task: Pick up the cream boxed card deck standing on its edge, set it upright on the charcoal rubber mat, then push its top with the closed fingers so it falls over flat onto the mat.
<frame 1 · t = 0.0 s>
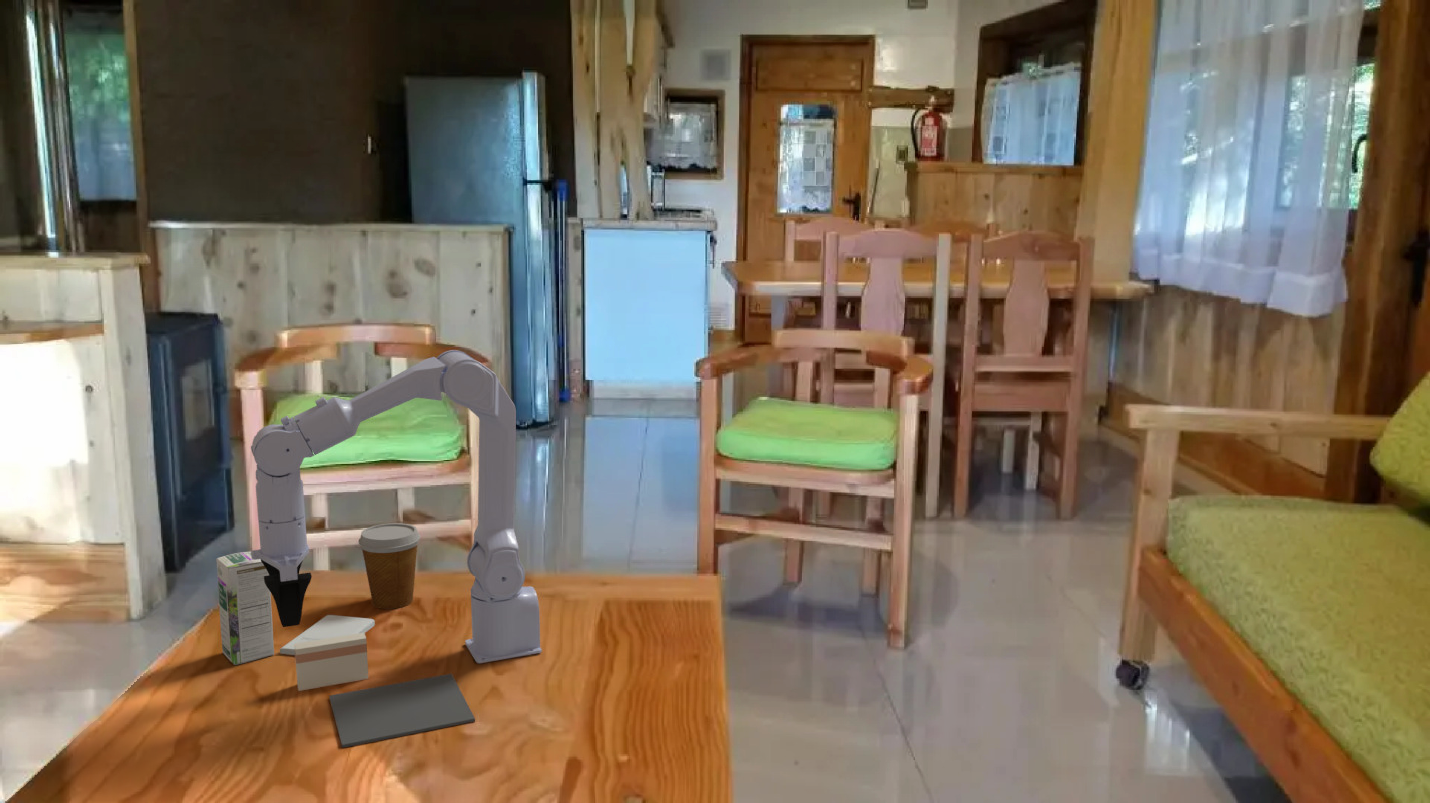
hand: (288, 614, 143), 10 cm above the table, tool pointing down, fingers open, 7 cm apart
disposable coffee cup: (392, 603, 175), on the table
mat: (400, 709, 139), on the table
card deck: (333, 682, 147), on the table
external hard drive: (329, 643, 160), on the table
syrup box: (249, 655, 155), on the table
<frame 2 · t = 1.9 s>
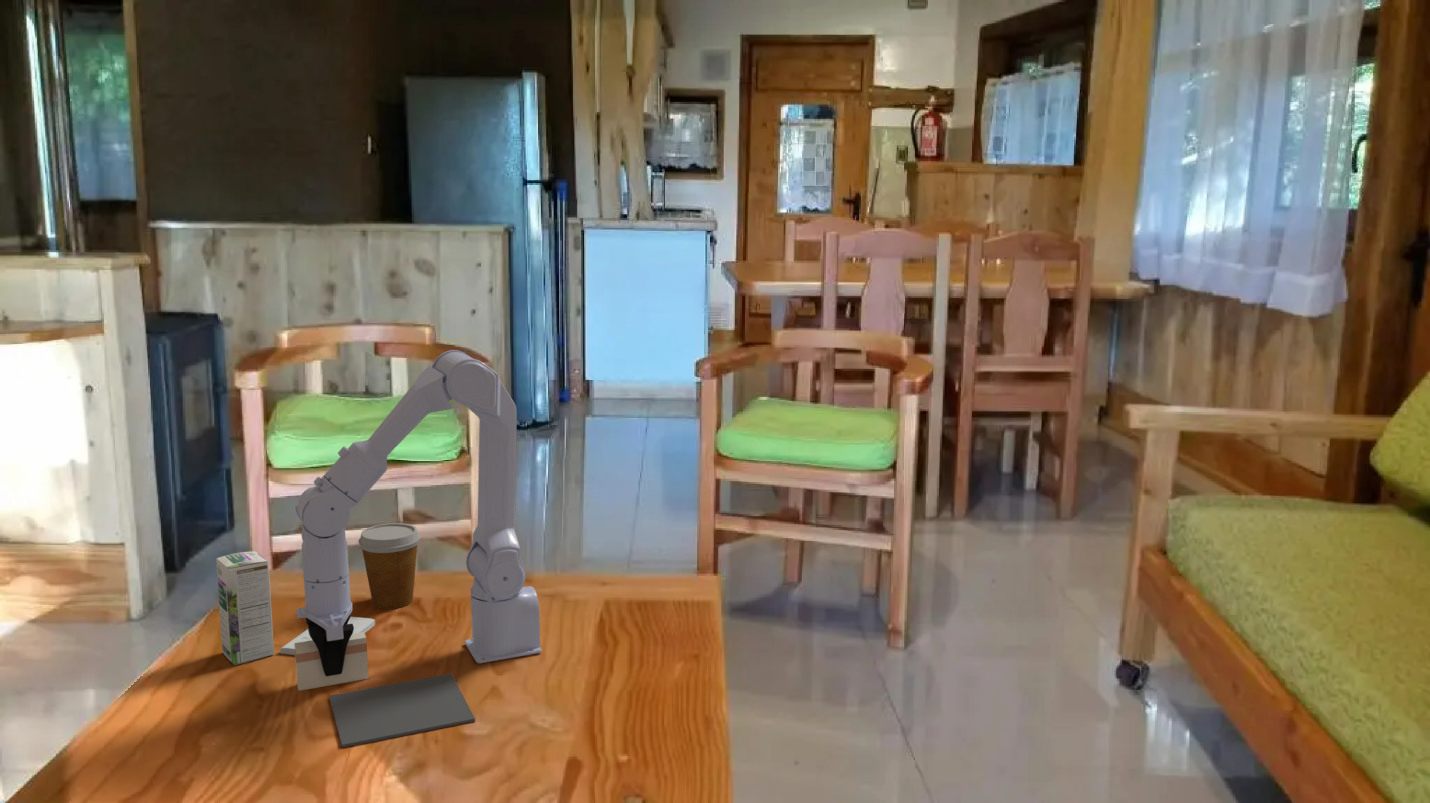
hand: (332, 670, 146), 2 cm above the table, tool pointing down, fingers closed on card deck, 2 cm apart
card deck: (333, 681, 146), on the table, touching gripper
everything else where it was.
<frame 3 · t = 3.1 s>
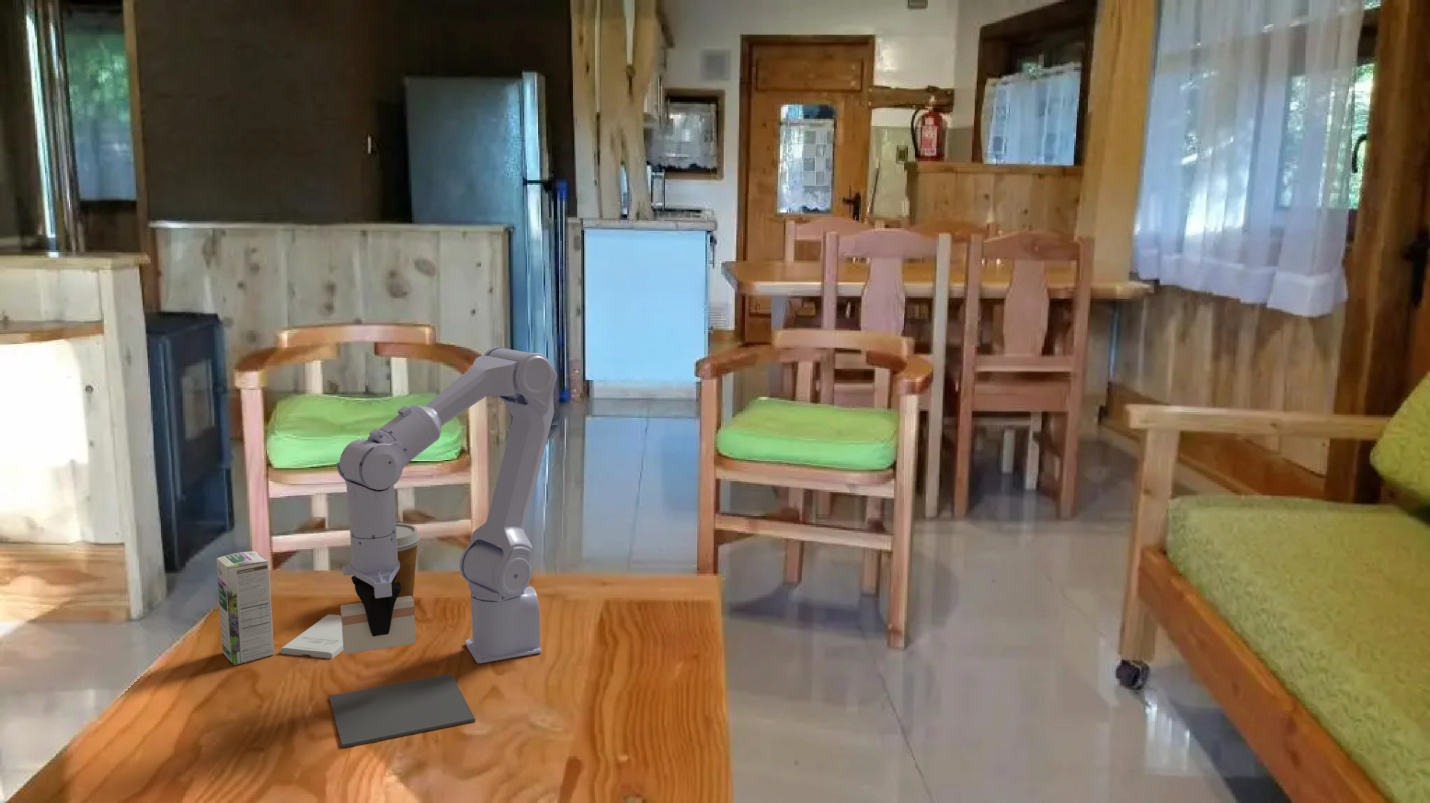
hand: (378, 630, 142), 9 cm above the table, tool pointing down, fingers closed on card deck
card deck: (379, 645, 142), point 7 cm above the table, touching gripper
everything else where it was.
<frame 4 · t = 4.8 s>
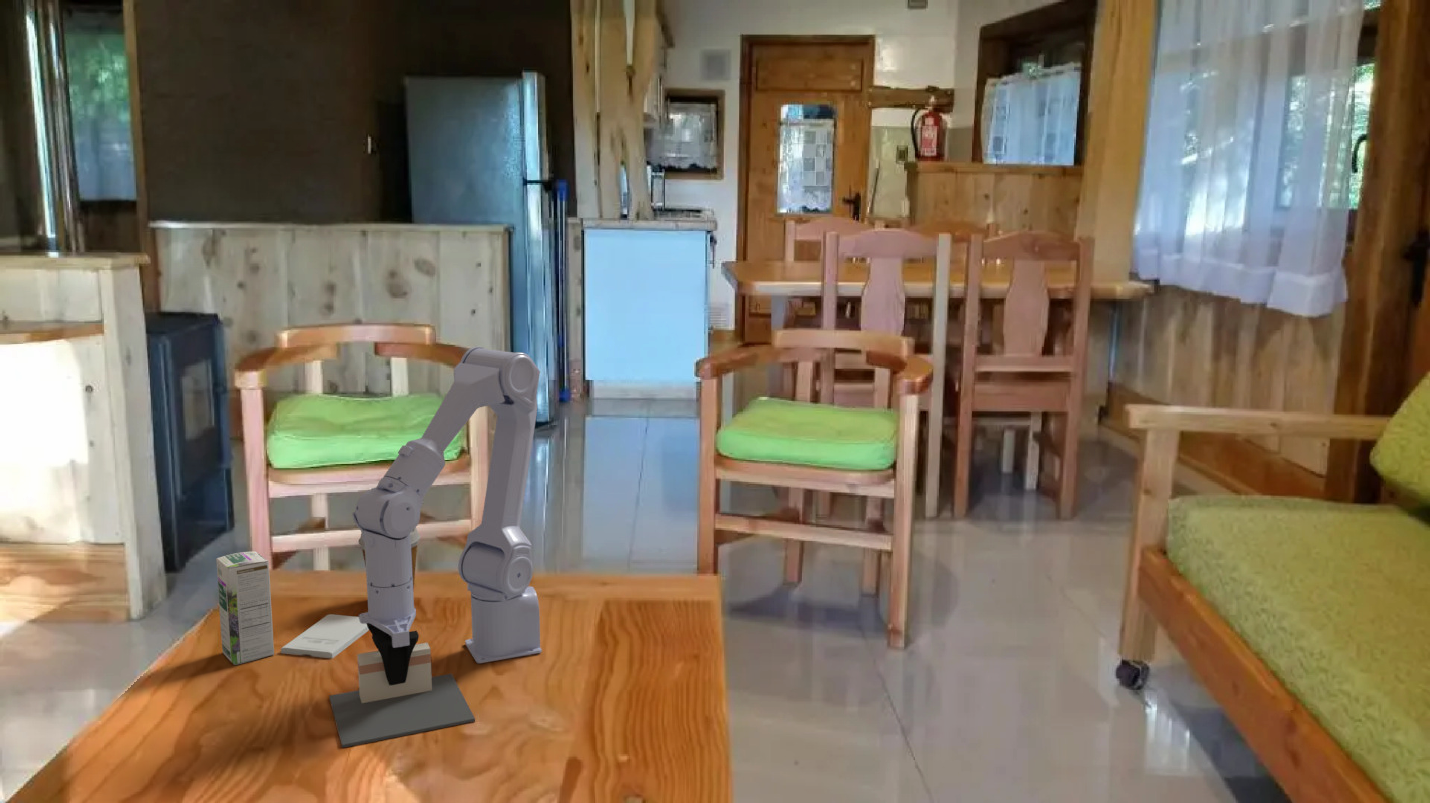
hand: (394, 677, 142), 3 cm above the table, tool pointing down, fingers open, 3 cm apart
card deck: (396, 693, 142), resting on mat
everything else where it was.
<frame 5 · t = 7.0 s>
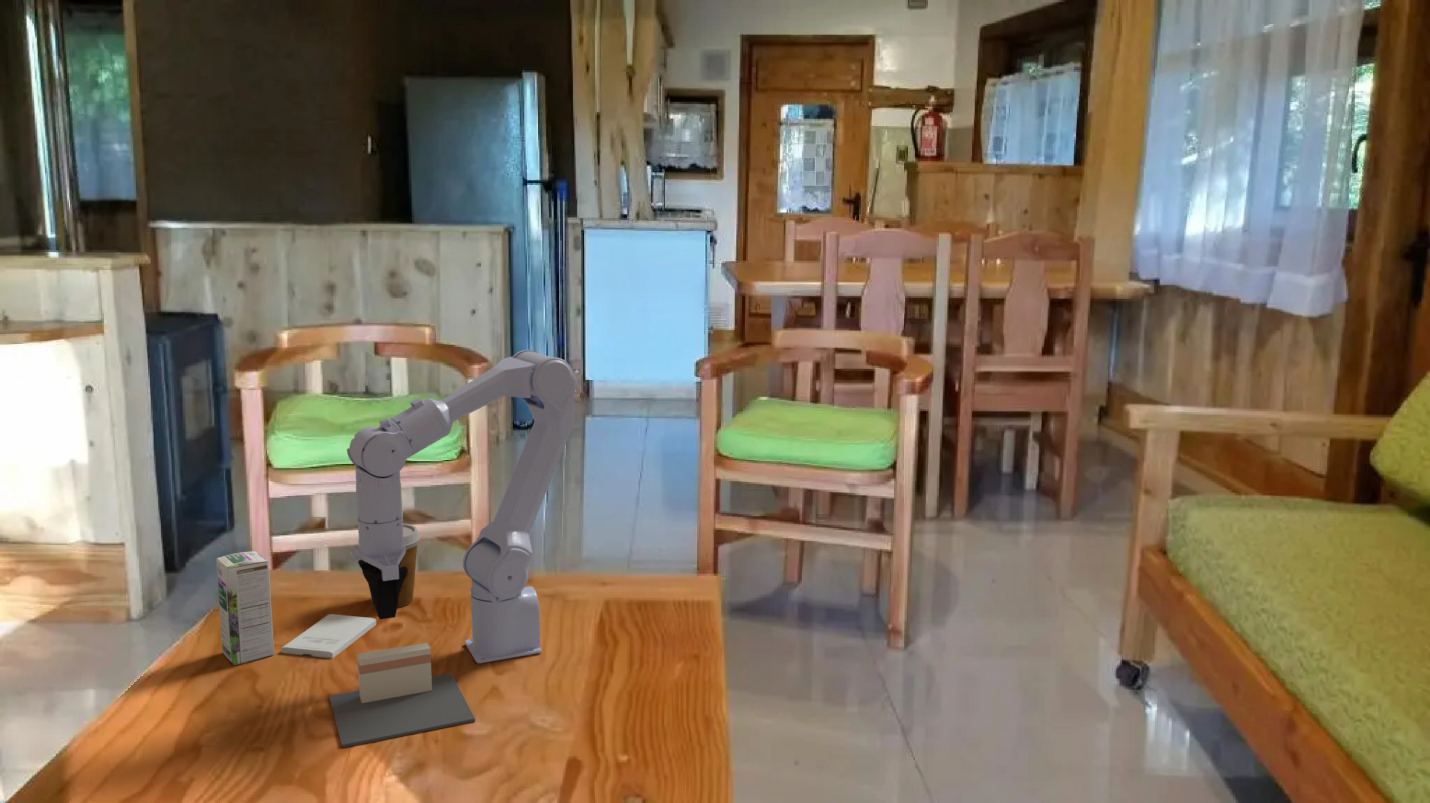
hand: (385, 613, 146), 9 cm above the table, tool pointing down, fingers closed
nothing on the table moved.
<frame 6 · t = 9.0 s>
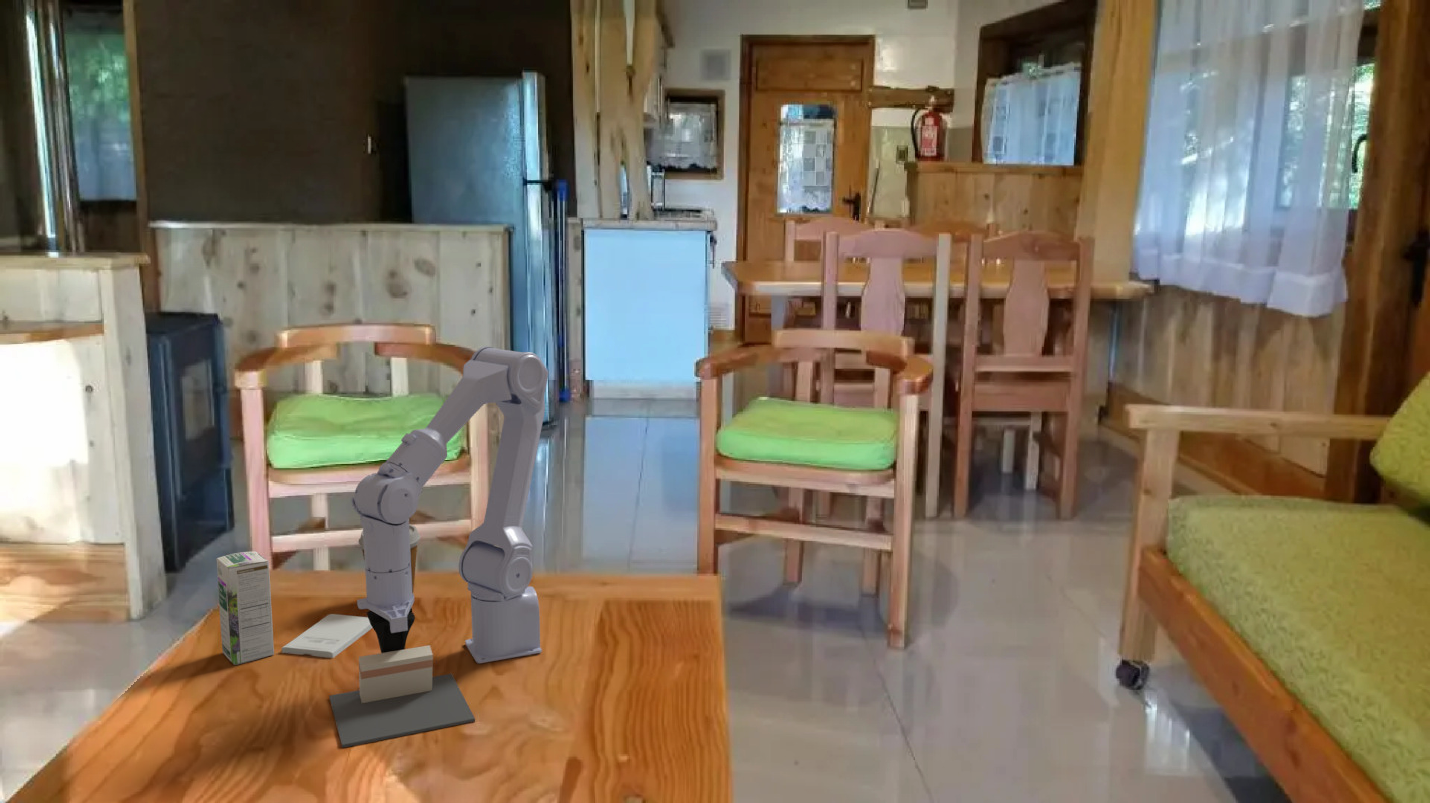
hand: (393, 663, 142), 4 cm above the table, tool pointing down, fingers closed
card deck: (396, 691, 142), point 1 cm above the table, tilted 16°, touching mat
everything else where it was.
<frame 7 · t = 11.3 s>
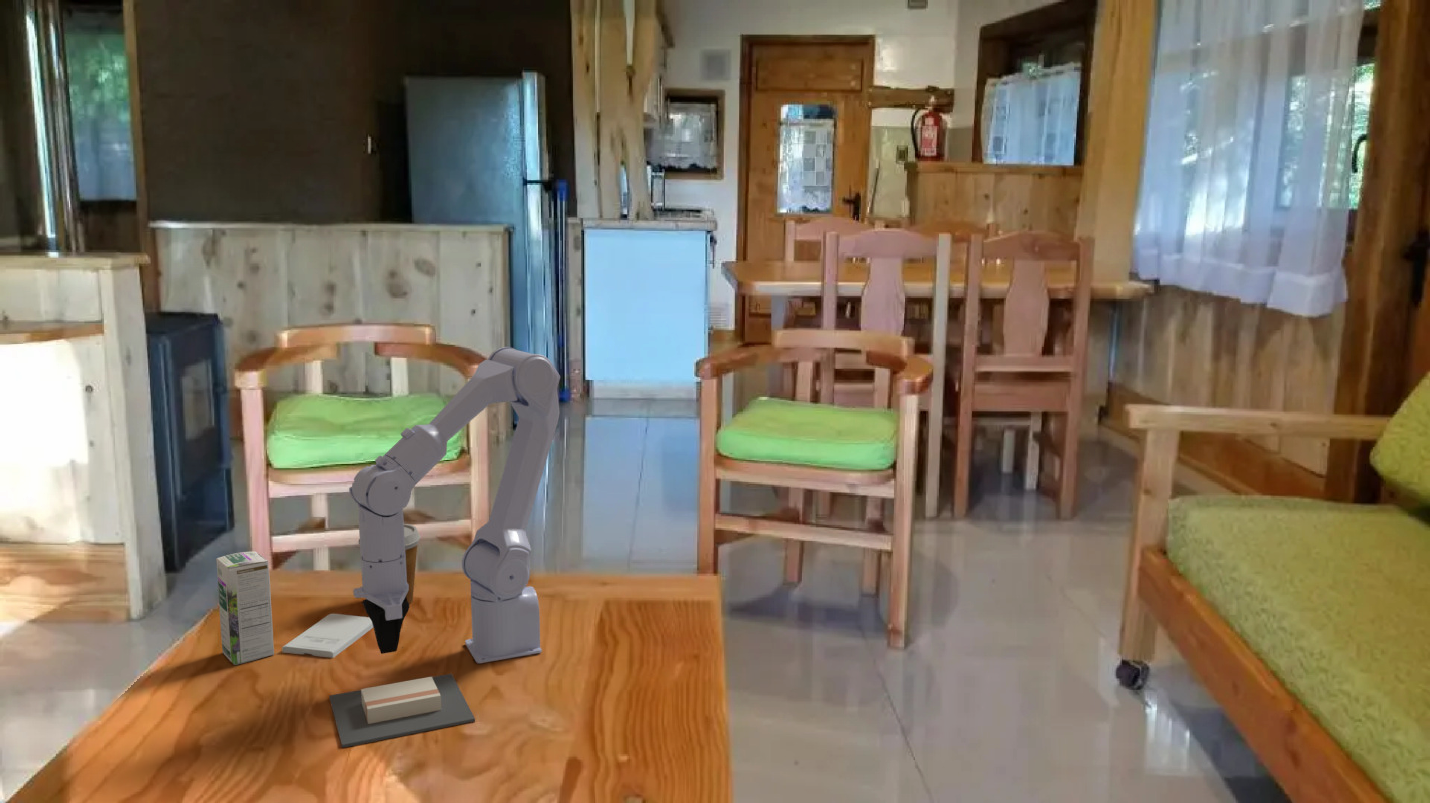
hand: (388, 650, 146), 4 cm above the table, tool pointing down, fingers closed
card deck: (397, 689, 141), point 1 cm above the table, tilted 90°, touching mat
everything else where it was.
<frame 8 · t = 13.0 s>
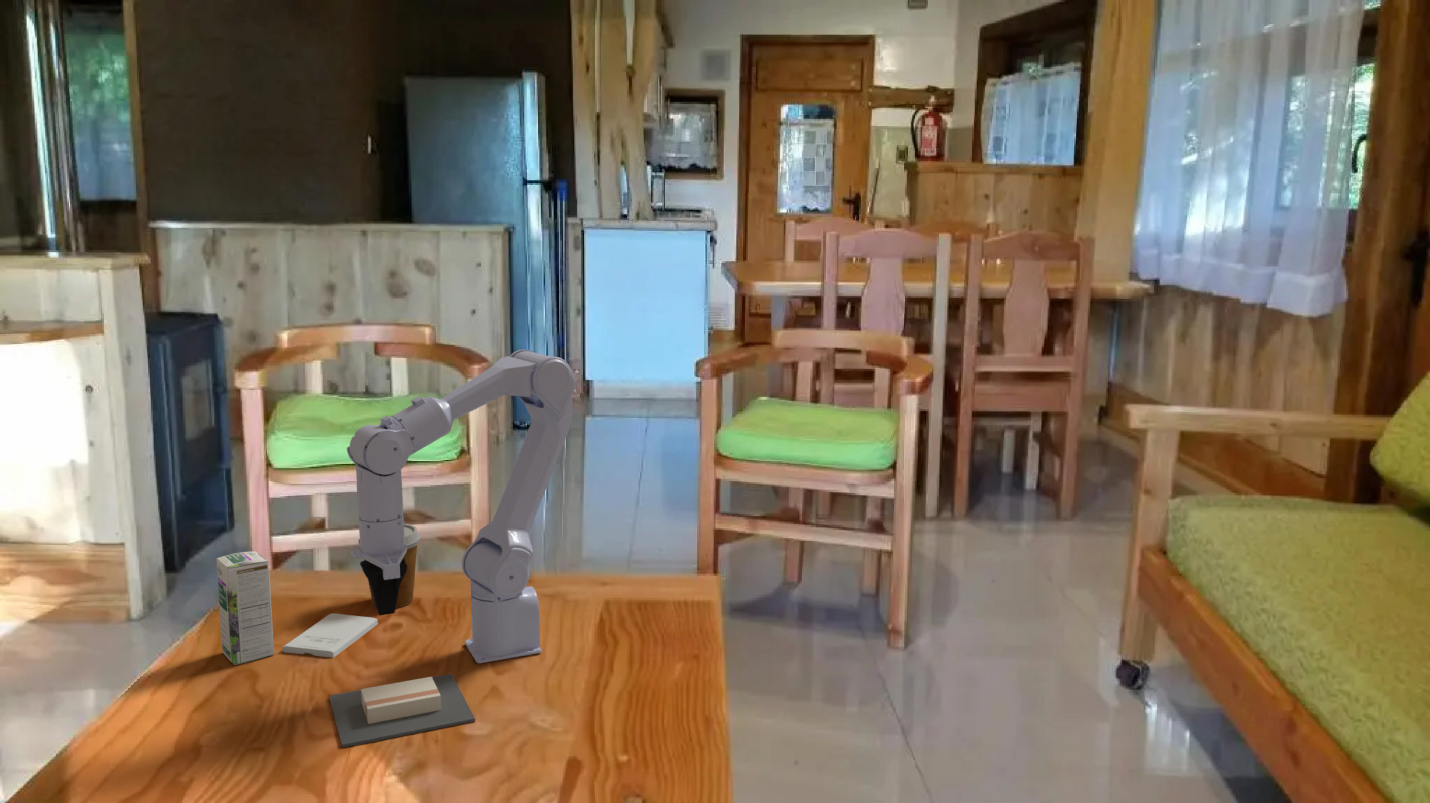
hand: (386, 612, 145), 10 cm above the table, tool pointing down, fingers closed
nothing on the table moved.
at the end: card deck tilted 90°; card deck inside the target area (2.9 cm from its centre), point 1.4 cm above the table; the gripper is holding nothing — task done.
